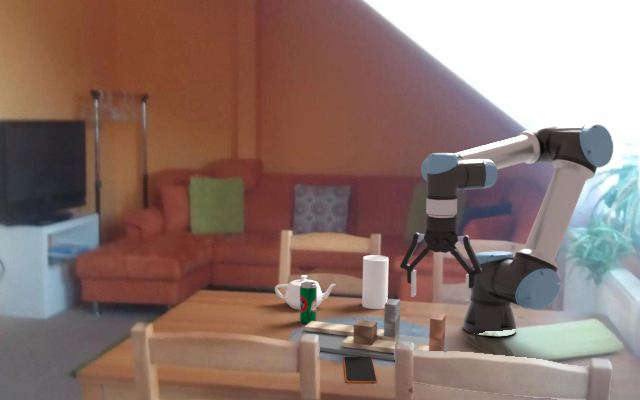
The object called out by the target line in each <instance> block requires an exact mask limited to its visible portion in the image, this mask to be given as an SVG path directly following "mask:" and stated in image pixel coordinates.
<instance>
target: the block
mask: <svg viewBox="0 0 640 400" xmlns="http://www.w3.org/2000/svg"><path fill="white" fill-rule="evenodd" d="M353 326H354V336H353V343H356V344H363V345H371V346H372V345H373V344H374V342H375V341H376V340H377V329H378V321H375V320H369V319H367V320H365V319H358V320H357V321H356V322H355V323H354V324H353Z"/></svg>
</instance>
